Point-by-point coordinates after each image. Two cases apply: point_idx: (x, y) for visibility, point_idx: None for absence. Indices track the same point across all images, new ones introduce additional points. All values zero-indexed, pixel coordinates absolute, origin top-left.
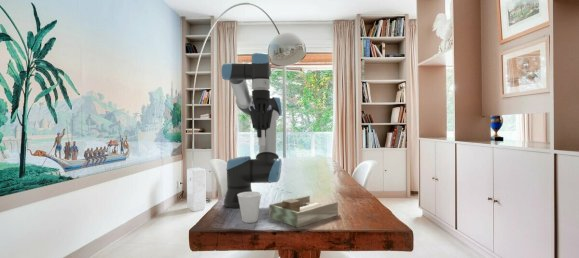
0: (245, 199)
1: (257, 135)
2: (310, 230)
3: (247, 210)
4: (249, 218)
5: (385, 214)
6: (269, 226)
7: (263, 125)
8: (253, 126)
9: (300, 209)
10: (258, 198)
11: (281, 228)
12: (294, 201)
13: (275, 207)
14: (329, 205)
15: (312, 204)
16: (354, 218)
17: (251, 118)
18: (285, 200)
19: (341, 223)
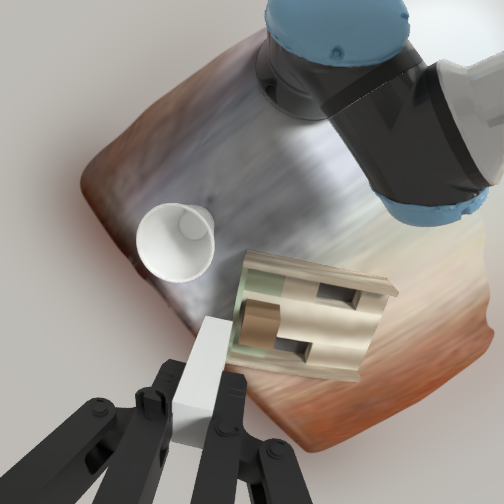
0: (146, 256)
1: (160, 372)
2: (227, 367)
3: (163, 246)
4: (176, 241)
5: (387, 414)
6: (194, 291)
7: (225, 468)
8: (84, 416)
9: (302, 317)
10: (182, 276)
11: (200, 319)
12: (257, 344)
13: (238, 287)
14: (330, 377)
15: (362, 315)
16: (341, 393)
17: (20, 468)
18: (252, 320)
19: (299, 390)
